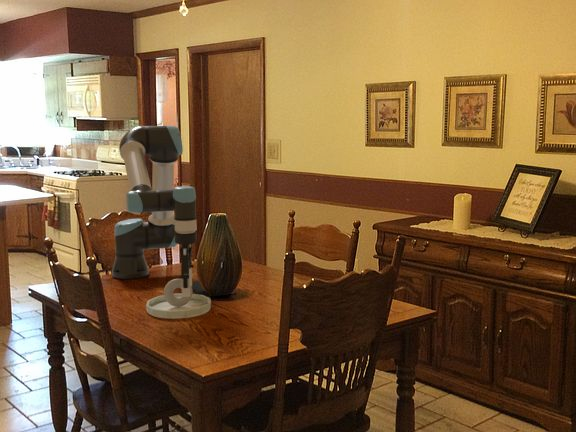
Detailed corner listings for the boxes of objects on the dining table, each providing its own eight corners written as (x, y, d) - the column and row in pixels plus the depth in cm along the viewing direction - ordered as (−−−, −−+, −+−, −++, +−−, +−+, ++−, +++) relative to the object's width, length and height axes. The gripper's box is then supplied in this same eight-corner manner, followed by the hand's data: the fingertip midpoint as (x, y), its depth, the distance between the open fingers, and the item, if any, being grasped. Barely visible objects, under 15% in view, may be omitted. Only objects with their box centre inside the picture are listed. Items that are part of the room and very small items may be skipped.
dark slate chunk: (227, 282, 275) (227, 271, 274) (236, 297, 253) (236, 284, 253) (190, 284, 271) (189, 273, 270) (195, 299, 250) (195, 287, 249)
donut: (193, 304, 239) (191, 276, 238) (193, 306, 235) (191, 278, 234) (164, 306, 237) (162, 278, 236) (164, 309, 233) (162, 280, 232)
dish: (150, 301, 246) (150, 294, 246) (211, 299, 248) (211, 292, 248) (143, 319, 225) (143, 312, 224) (209, 317, 226) (209, 310, 226)
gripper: (177, 225, 244) (178, 282, 248) (171, 238, 220) (173, 301, 223) (198, 225, 245) (199, 282, 248) (194, 238, 220) (196, 301, 224)
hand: (187, 291), depth 236 cm, fingers open, 13 cm apart
